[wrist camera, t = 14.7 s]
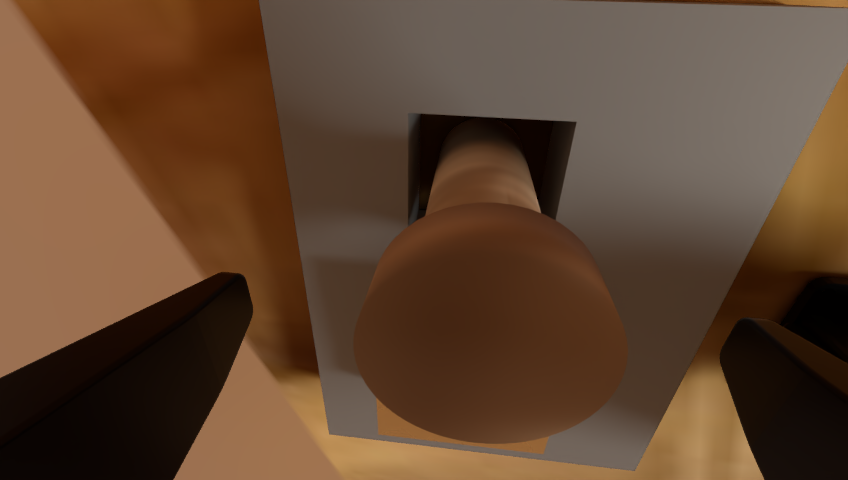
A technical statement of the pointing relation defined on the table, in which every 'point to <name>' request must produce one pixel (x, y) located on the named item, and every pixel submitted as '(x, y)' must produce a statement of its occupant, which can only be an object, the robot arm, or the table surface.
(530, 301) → the birch peg
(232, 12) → the table surface
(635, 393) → the base plate
